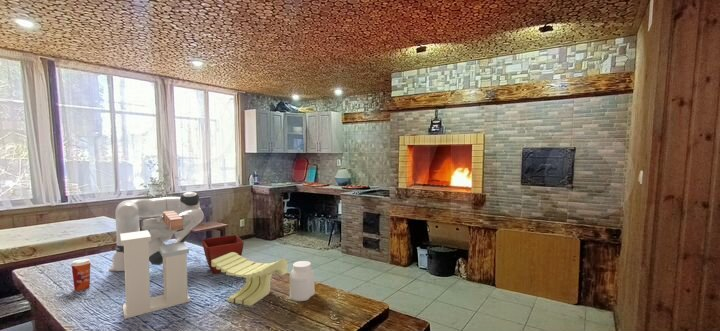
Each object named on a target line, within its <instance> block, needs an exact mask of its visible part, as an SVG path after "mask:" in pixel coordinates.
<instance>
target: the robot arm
mask: <svg viewBox="0 0 720 331" xmlns="http://www.w3.org/2000/svg"><path fill="white" fill-rule="evenodd" d="M167 211H174V212H176V213H177V214H178V215H179V216H180V217H182V218H183V229H179V230H170V229H169V227H168V226H167V225H166V224H165V223H164V221H163V220H164V216H163V212H167ZM114 212H115V213H114V214H115V218H114V219H115V228H116V229H115V230H116V231H115V232H116V245H115V254H113V256H112V265H111V266H110V267H109V269H108V271H110V272H115V271H116V272H125V266H124V245H122V246H121V240H120V234H123V233H131V232H138V231H141V230H140V218H146V219H143V220H142V221H143V222H142V223H143V225H142V226H141V229H142V230H143V231H146V230H148V232H149V234H150V235H151V241H149V242H148V245H149V263H151V265H155V266H161V265H163V257H162V255H161V253H160V252H159V246H162V245H166V242H168V241H170V239H172V237H173V236H174V237H175V240H174V241H173V242H172V243H171V244H174V243H180V242H183V243H184V244H185V242H186V241H187V240H188V238H189V237H190V236H191V231H192V229H193V228H195V227H196V226H197V225H199V224H200V223H201V222H202V221H203V220H204V217H205V214H204V212H203V210H202V208H201V204H200V195H199V194H198V193H197V192H195V191H186V192H183V193H182V194H181V195H180V196H164V197H157V198H156V197H155V198H142V199H141V198H139V199H137V198H136V199H127V200H123V201H121V202H119V203H118V204H117V206H116V208H115V211H114ZM153 217H154V218H153Z"/></svg>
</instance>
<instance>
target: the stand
mask: <svg viewBox="0 0 720 331" xmlns="http://www.w3.org/2000/svg"><path fill="white" fill-rule="evenodd" d="M120 240H121V246H122V245H124V266H125V271H124V286H125V287H124V291H125V303H124V304H122V311H123V319H124V320H125V319H130V318H133V317H136V316H140V315H145V314H149V313H152V312H155V311H159V310H164V309H167V308H171V307H175V306H179V305H182V304H185V303H189V302H191V296H190V295H189V293H188V291H189V290H188V262H187V260H188V259H187V258H188V256H187V254H189V253H190V248H189V247H188V246H187V245H186V243H185V242H184V243H183V242H180V243H174V244H172V243H169V244H165V245H162V246H159V252H160V253H161V255H162V257H163V264H162V280H163V281H162V282H163V294H160V295H156V296H151V285H150V284H151V281H150V261H149V245H148V242H149V241H151V235H150V234H149V232H148V230H146V231H145V230H140V231H138V232H131V233H123V234H120Z"/></svg>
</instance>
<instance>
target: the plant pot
mask: <svg viewBox="0 0 720 331" xmlns="http://www.w3.org/2000/svg"><path fill="white" fill-rule="evenodd" d="M201 241H202V242H201V243H202V248H203V251H204V256H205V260H206V262H207V265H208V267H209V270H210V272H211V274H212V275H213V276H215V275H218V274H225V273H226V272H221V269H220V270H218V269H216V267H212V266H211V260H213V259H216V258H218V257H221V256H223V255H226V254H228V253H231V252H235V253H238V255H240V256H243V251H244V244H245V242H244V240H243V239H241V237H239V236H238V235H237V234H231V235H225V236H224V235H223V236H217V237H210V238H204V239H203V238H202V240H201Z"/></svg>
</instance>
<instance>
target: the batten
mask: <svg viewBox="0 0 720 331" xmlns="http://www.w3.org/2000/svg"><path fill="white" fill-rule="evenodd" d="M162 216H164V220H163V221H164V223H165V224H166V225H167V226H168V227H169V229H170V230H179V229H183V218H182V217H180V216H179V215H178V214H177V213H176V212H174V211H167V212H163V215H162Z"/></svg>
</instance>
